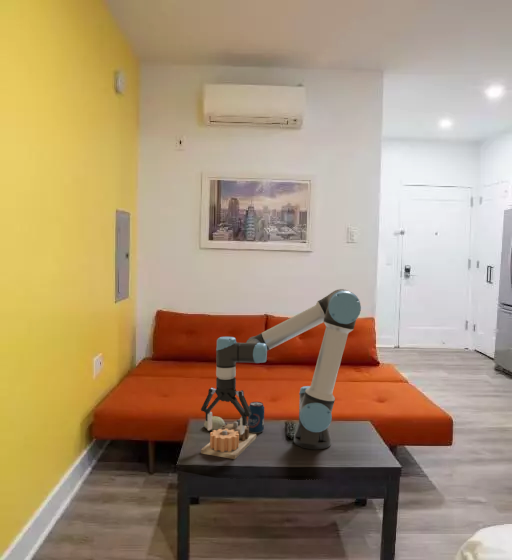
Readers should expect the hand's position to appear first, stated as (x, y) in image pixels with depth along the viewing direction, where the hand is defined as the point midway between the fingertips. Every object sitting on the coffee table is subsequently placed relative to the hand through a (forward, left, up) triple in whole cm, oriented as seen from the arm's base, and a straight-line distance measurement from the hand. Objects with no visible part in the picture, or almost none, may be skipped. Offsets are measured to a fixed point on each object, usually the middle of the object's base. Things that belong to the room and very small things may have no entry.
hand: (225, 431), depth 192 cm
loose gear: (0, 0, -6) cm, 6 cm away
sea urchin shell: (+14, -22, -8) cm, 27 cm away
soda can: (-4, -26, -8) cm, 27 cm away
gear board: (0, -6, -8) cm, 9 cm away
